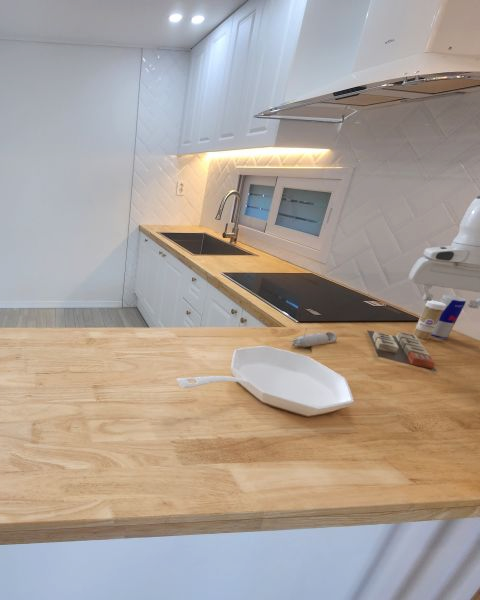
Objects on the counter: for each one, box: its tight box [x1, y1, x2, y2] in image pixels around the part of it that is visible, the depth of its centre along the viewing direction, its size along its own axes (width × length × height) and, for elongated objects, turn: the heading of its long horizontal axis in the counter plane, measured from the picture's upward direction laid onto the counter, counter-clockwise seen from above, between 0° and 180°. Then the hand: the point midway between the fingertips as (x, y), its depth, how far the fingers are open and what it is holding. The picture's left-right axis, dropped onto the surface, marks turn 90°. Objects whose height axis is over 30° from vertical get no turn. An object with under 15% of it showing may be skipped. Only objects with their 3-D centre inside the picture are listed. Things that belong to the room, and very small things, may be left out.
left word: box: [373, 331, 399, 353], centre depth 107 cm, size 4×10×2 cm, turn 148°
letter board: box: [366, 329, 437, 372], centre depth 106 cm, size 13×22×1 cm, turn 148°
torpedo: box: [290, 327, 338, 348], centre depth 106 cm, size 18×5×6 cm, turn 109°
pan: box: [176, 345, 355, 418], centre depth 81 cm, size 25×44×6 cm, turn 107°
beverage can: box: [430, 294, 467, 340], centre depth 114 cm, size 6×6×15 cm
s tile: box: [408, 352, 436, 369], centre depth 98 cm, size 4×4×2 cm
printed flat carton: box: [395, 331, 430, 356], centre depth 106 cm, size 4×16×2 cm, turn 148°
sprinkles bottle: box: [411, 299, 446, 341], centre depth 113 cm, size 5×5×13 cm
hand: (449, 303), depth 94 cm, fingers open, 8 cm apart
